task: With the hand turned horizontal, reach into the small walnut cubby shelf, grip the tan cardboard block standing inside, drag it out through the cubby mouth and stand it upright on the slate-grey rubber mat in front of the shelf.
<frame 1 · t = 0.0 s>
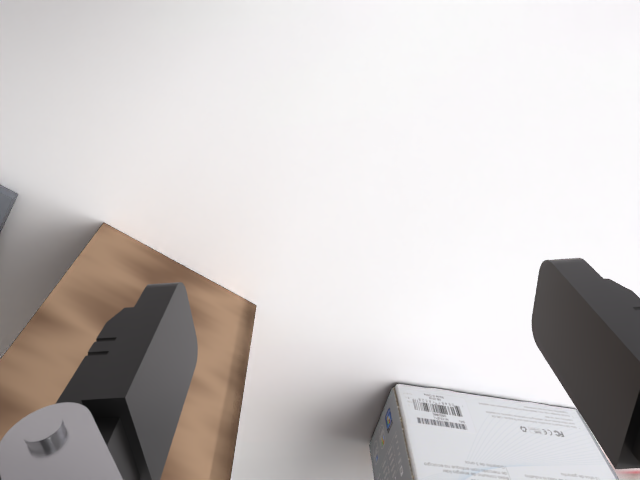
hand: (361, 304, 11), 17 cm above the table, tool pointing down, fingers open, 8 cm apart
hard drive box: (471, 423, 40), on the table
cubby: (107, 365, 35), on the table
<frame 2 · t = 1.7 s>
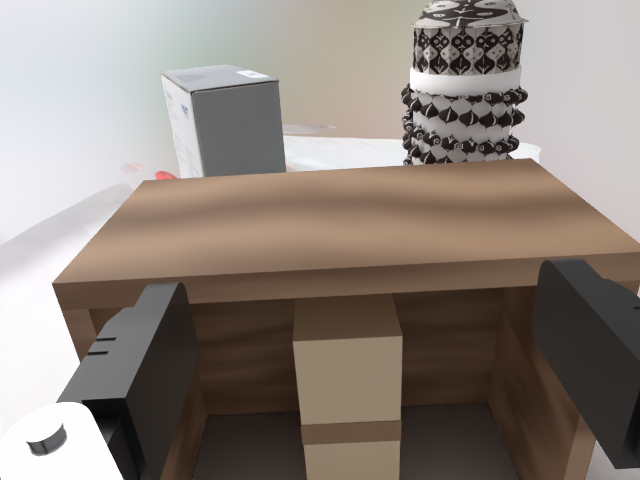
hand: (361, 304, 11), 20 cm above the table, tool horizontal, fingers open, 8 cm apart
hard drive box: (240, 264, 54), on the table
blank: (351, 469, 30), on the table
cubby: (351, 468, 30), on the table
decorative candle: (447, 300, 46), on the table
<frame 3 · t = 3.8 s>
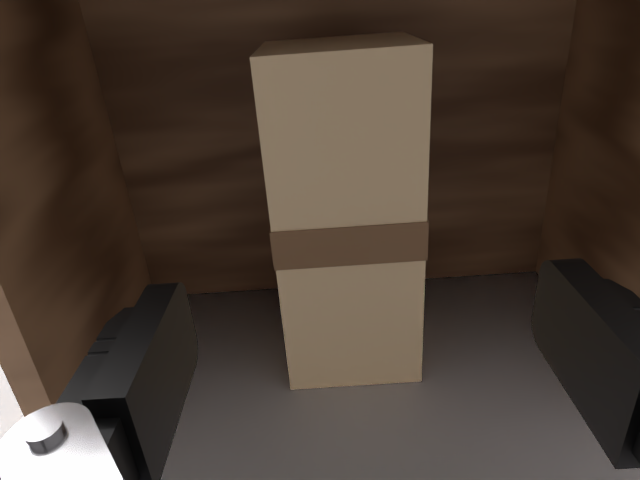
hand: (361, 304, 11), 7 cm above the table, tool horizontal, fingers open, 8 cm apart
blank: (351, 344, 21), on the table
cubby: (351, 343, 21), on the table
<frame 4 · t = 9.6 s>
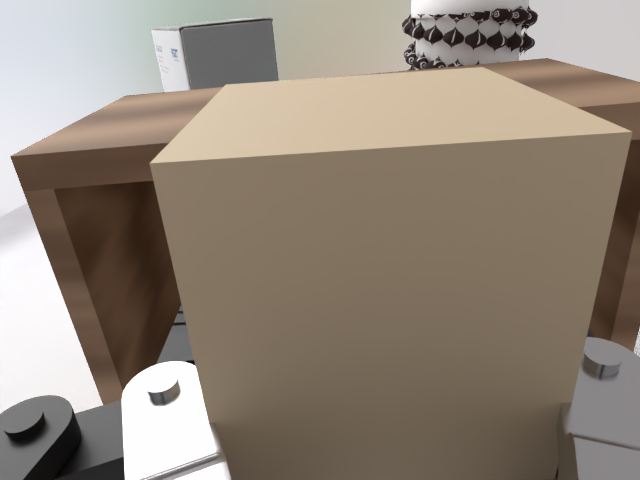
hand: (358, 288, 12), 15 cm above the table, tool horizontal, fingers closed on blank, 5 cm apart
hard drive box: (238, 230, 52), on the table
cubby: (359, 411, 27), on the table
decorative candle: (457, 253, 43), on the table
when the fingers open (8 cm above the table, at t = 13.0 s): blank stays where it is, resting on mat.
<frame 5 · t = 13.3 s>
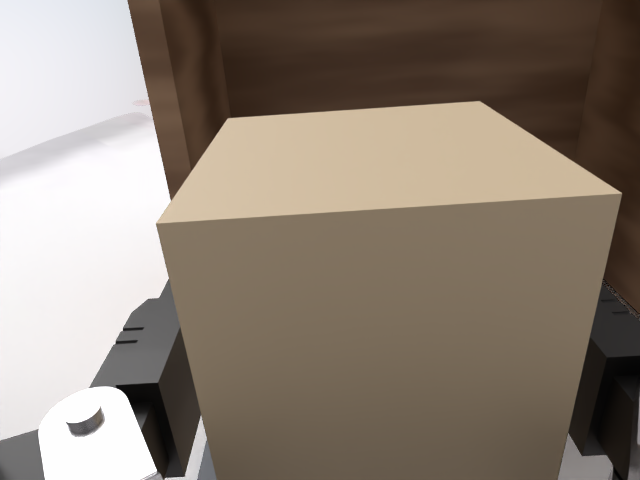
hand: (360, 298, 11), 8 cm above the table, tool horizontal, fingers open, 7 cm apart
cubby: (420, 287, 27), on the table
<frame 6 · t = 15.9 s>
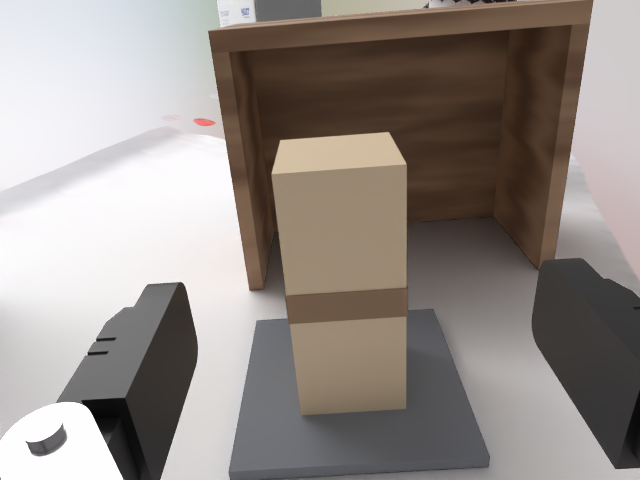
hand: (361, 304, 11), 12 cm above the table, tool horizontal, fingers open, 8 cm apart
hard drive box: (281, 164, 64), on the table
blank: (350, 376, 26), point 1 cm above the table, touching mat
cubby: (390, 248, 40), on the table
mat: (350, 383, 26), on the table
decorative candle: (458, 173, 55), on the table
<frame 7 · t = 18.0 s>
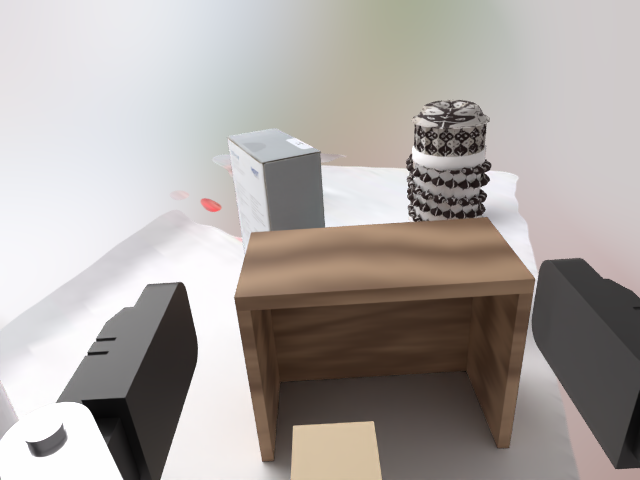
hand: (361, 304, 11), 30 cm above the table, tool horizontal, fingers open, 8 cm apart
hard drive box: (284, 278, 71), on the table
cubby: (378, 411, 47), on the table
decorative candle: (440, 303, 63), on the table
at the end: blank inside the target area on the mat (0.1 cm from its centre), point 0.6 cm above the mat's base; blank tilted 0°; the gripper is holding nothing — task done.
